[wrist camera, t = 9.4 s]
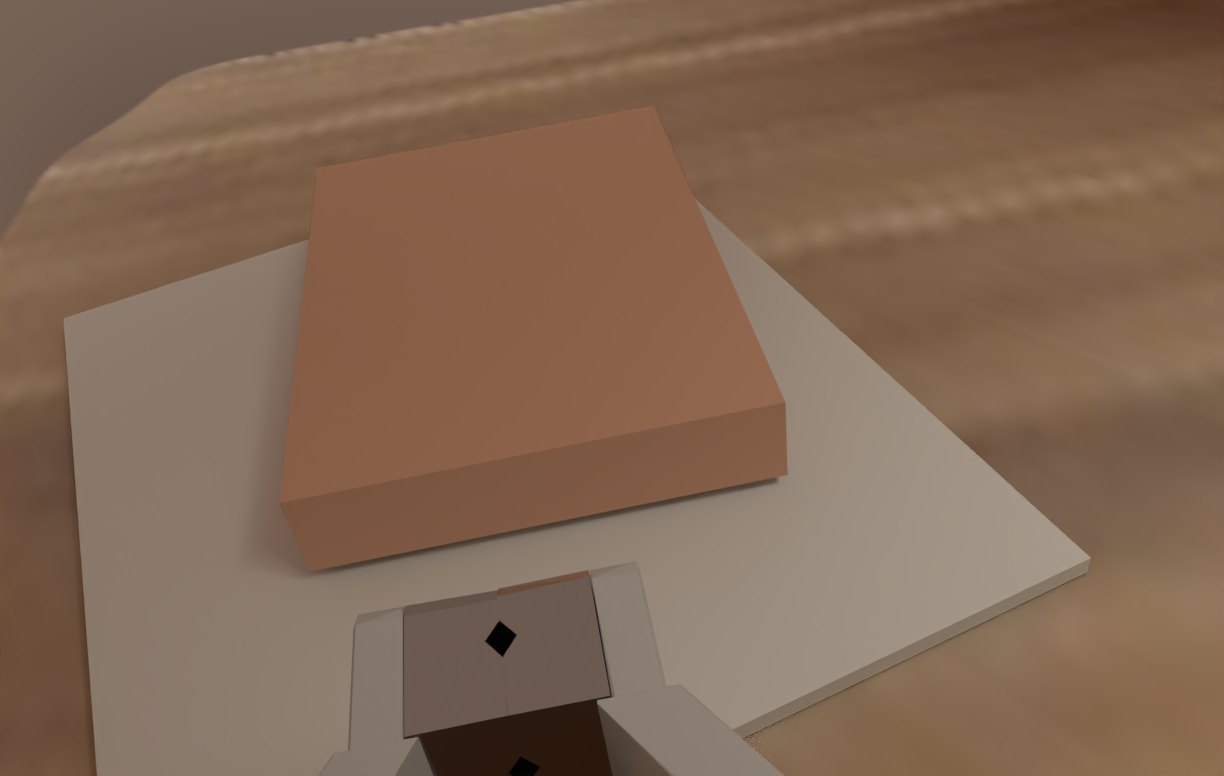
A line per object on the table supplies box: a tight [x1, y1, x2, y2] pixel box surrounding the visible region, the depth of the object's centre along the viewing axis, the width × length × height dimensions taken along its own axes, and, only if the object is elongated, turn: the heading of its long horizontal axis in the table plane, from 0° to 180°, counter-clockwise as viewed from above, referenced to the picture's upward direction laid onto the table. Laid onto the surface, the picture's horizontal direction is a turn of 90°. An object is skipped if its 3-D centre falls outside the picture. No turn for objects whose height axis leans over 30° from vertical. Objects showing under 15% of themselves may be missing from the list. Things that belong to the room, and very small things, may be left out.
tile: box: [279, 105, 788, 572], centre depth 27 cm, size 2×10×14 cm
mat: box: [63, 199, 1091, 776], centre depth 26 cm, size 18×21×1 cm
